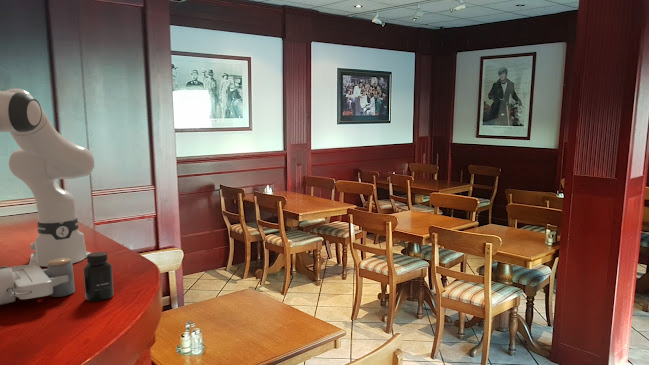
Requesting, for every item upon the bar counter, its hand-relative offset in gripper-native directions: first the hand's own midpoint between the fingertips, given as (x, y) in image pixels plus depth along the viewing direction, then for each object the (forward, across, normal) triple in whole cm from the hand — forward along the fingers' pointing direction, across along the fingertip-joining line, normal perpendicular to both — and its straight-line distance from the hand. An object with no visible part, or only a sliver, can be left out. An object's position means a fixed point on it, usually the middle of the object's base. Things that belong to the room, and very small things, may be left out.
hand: (64, 274), depth 132 cm
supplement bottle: (+6, -10, +6) cm, 13 cm away
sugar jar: (-1, 0, +5) cm, 5 cm away
